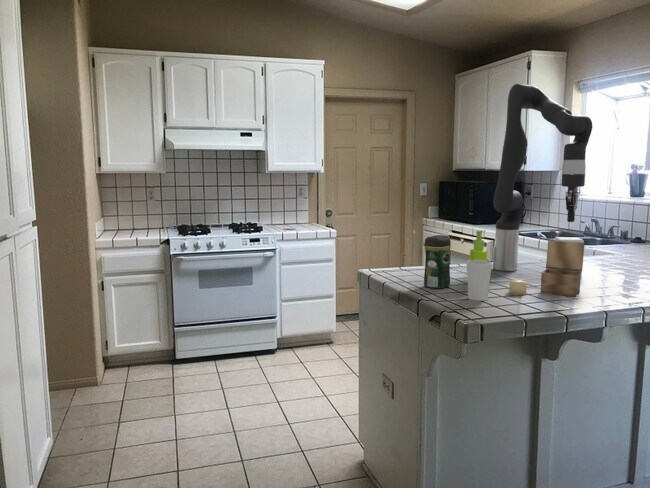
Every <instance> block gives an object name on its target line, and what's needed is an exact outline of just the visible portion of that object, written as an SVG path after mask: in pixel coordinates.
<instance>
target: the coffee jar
mask: <svg viewBox="0 0 650 488" xmlns="http://www.w3.org/2000/svg"><path fill="white" fill-rule="evenodd" d="M451 243H452V242H451V238H450V237H449V236H448V235H442V234H437V235H431V236H427V237H426V238H425V239H424V251H425V257H424V258H425V259H424V260H425V262H424V263H425V264H424V276H423V286H424V287H425V288H429V289H439V290H441V289H443V288H447V287H449V286H451V270H450V269H451V268H450V255H451V248H452V247H451V246H452V244H451Z"/></svg>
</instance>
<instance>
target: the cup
mask: <svg viewBox="0 0 650 488" xmlns="http://www.w3.org/2000/svg"><path fill="white" fill-rule="evenodd" d="M492 269H493V261H489V260H487V261H484V260H470V259H468V260H466V273H467V275H466V277H467V299H468V300H471V301H479V302H483V301H487V300H488V299H489V290H490V282H491V274H492Z"/></svg>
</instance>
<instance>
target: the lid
mask: <svg viewBox="0 0 650 488" xmlns="http://www.w3.org/2000/svg"><path fill="white" fill-rule="evenodd" d="M546 250H547V252H546V263H545V269H558V270H569V271H580V272H582V273H583V268H584V267H583V266H584V265H583V264H584V254H585V242H584V243H578V242H562V241H555V240H547V249H546Z"/></svg>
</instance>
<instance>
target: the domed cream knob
mask: <svg viewBox="0 0 650 488" xmlns="http://www.w3.org/2000/svg"><path fill="white" fill-rule="evenodd" d="M527 284H528V282H527V281H525V280H521V279H511V280H509V284H508V285H509V287H508V293H509V294H510V295H514V296H515V295H516V296H524V295H527Z"/></svg>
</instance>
